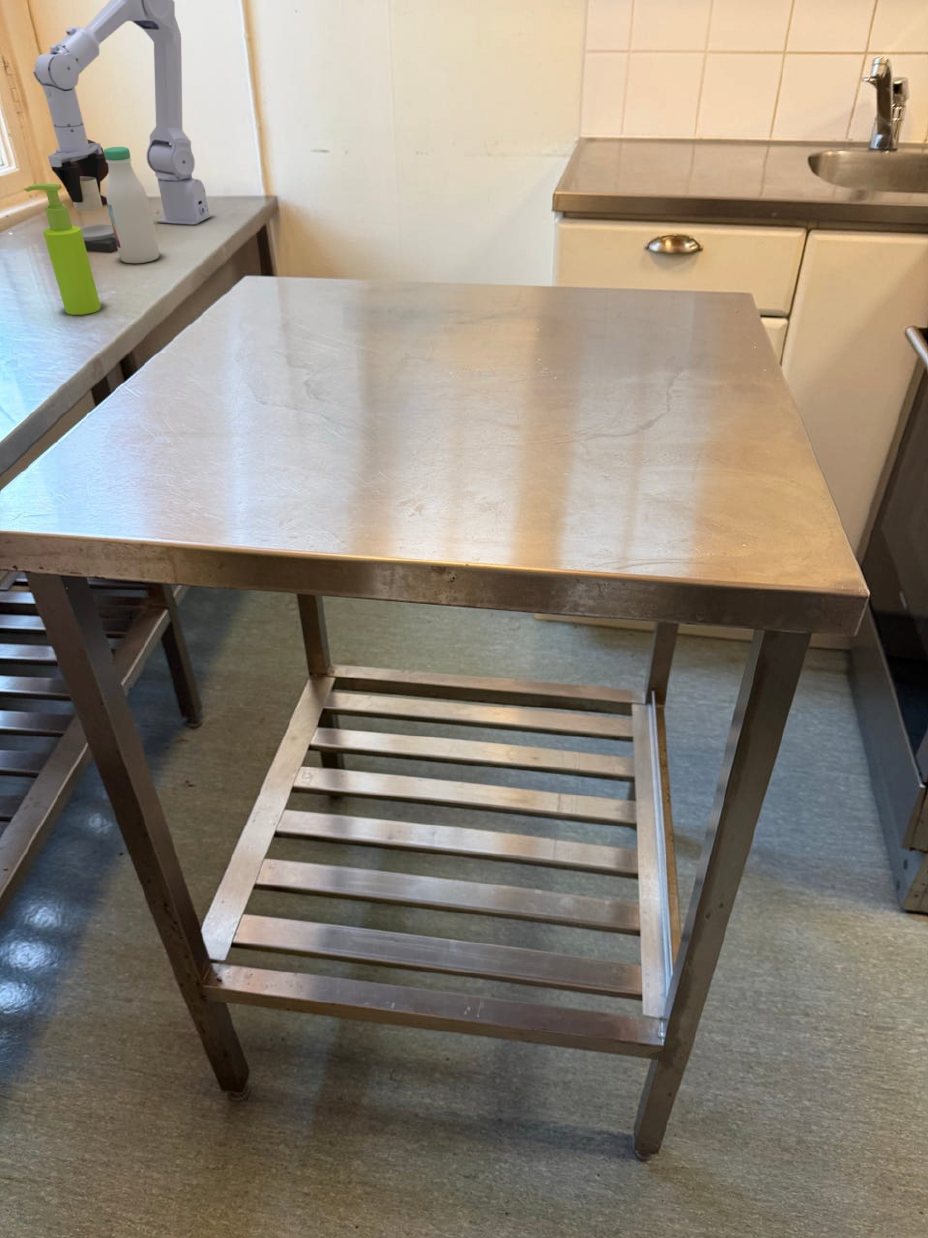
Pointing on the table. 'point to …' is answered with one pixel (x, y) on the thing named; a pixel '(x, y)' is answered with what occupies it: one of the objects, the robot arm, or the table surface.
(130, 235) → the milk bottle
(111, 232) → the scale
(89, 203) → the light grey cup
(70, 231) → the soap dispenser
